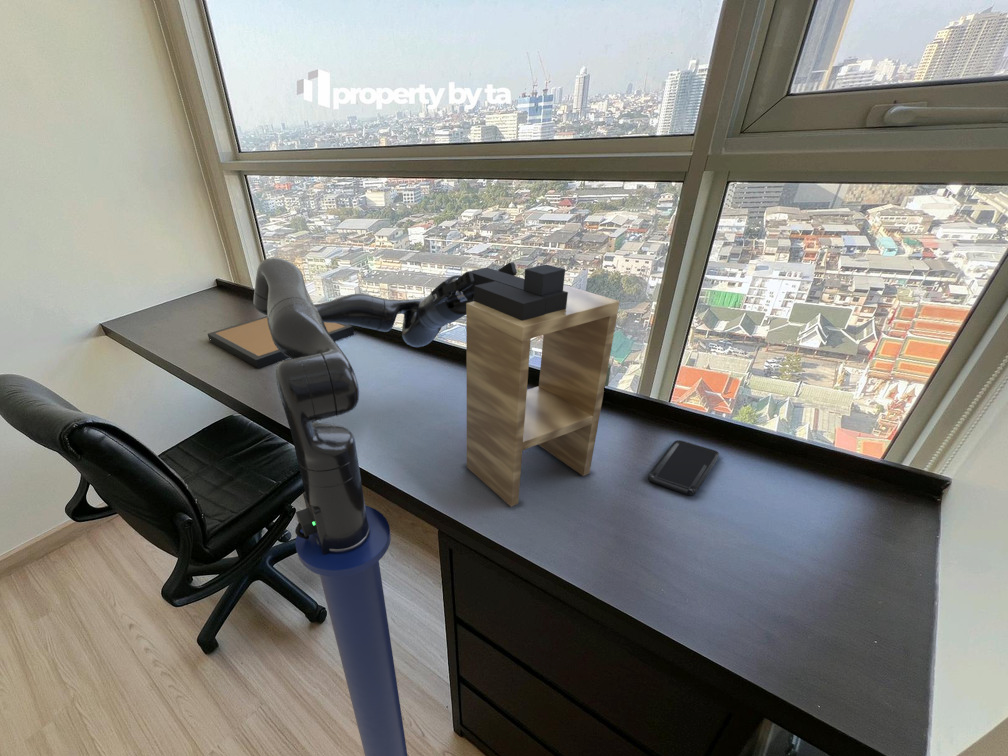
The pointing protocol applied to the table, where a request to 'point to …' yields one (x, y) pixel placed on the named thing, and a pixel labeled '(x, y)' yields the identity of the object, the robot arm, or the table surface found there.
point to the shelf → (543, 409)
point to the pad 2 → (510, 300)
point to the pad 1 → (531, 283)
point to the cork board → (262, 341)
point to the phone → (684, 467)
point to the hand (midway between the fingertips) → (492, 272)
